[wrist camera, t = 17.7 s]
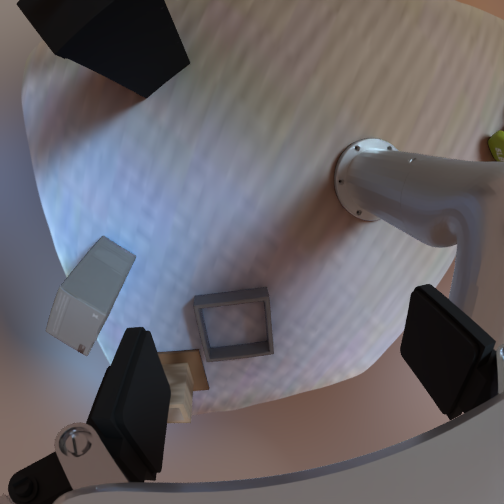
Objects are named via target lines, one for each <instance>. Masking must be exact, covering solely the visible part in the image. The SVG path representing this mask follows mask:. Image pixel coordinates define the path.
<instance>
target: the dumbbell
mask: <svg viewBox="0 0 504 504" xmlns="http://www.w3.org/2000/svg"><path fill="white" fill-rule="evenodd" d="M488 145H489V148H490V151H491V153H492V155H493V157H494V159H495V160H496V161H498V162H504V131H501V130H499V131H497V132H496V133H495V134H493V135H492V136H491V138H490V139H489V140H488Z"/></svg>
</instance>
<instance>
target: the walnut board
mask: <svg viewBox="0 0 504 504" xmlns="http://www.w3.org/2000/svg"><path fill="white" fill-rule="evenodd" d="M157 353H158V355H159V358H160V361H161V364H177V363H188V365H189V368H190V371H191V375H192V378H193V381H194V385H193V391H199V390H209V385H208V382H207V378H206V375H205V371H204V367H203V363H202V360H201V356H200V352H199V349H195V350H183V351H169V352H157Z"/></svg>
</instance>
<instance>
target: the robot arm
mask: <svg viewBox="0 0 504 504" xmlns="http://www.w3.org/2000/svg"><path fill="white" fill-rule="evenodd" d="M355 147H356V150H355ZM387 148H388V149H387ZM339 180H341V182H340V183H339ZM334 185H335V190H336V194H337V196H338V199H339V201H340V202H341V204H342V206H343V207H344V208H345V209H346V210H347V211H348V212H349V213H351V214H352V215H354V216H355V217H357V218H360V219H363V220H368V221H375V220H380V219H382V220H384V221H386V222H388V223H389V224H391V225H393V226H395V227H396V228H398V229H400V230H402V231H403V232H405V233H407V234H408V235H410V236H412V237H414V238H415V239H417V240H419V241H421V242H422V243H424V244H426V245H429V246H432V247H449V246H453V245H456V244H457V252H456V259H455V269H454V275H453V280H452V285H451V290H450V294H449V299H448V298H447V297H445V296H444V295H443V294H442V293H441V292H439V291H438V290H437V289H436V288H434V287H433V286H432V285H430V284H426V285H422V286H417V287H416V288H415V289H414V291H413V292H412V293H411V297H410V303H409V309H408V314H407V319H406V324H405V329H404V334H403V338H402V343H401V347H400V351H401V355H402V357H403V358H404V360H405V361H406V363H407V364H408V365H409V367H410V368H411V369H412V371H413V372H414V374H415V375H416V376H417V378H418V379H419V380H420V382H421V383H422V385H423V386H424V388H425V389H426V390H427V392H428V393H429V395H430V396H431V397H432V399H433V400H434V402H435V403H436V405H437V406H438V408H439V409H440V411H441V412H442V413H443V414H446V415H447V416H448V418H449V419H450V420H451V421H449V422H447V423H445V424H443V425H440V426H438V427H436V428H434V429H432V430H430V431H428V432H425V433H423V434H420V435H418V436H416V437H413V438H411V439H408V440H406V441H403V442H401V443H398V444H396V445H393V446H390V447H387V448H384V449H382V450H379V451H376V452H373V453H369V454H367V455H363V456H360V457H357V458H353V459H350V460H347V461H342V462H339V463H335V464H331V465H327V466H322V467H318V468H314V469H309V470H304V471H299V472H294V473H288V474H283V475H276V476H269V477H262V478H254V479H245V480H233V481H220V482H200V483H144V480H154V481H155V480H156V473H160V472H161V469H162V460H163V451H164V444H165V435H166V427H167V420H168V413H169V405H170V398H171V389H170V385H169V382H168V380H167V377H166V375H165V372H164V369H163V367H162V364H161V361H160V358H159V355H158V353H157V350H156V347H155V344H154V341H153V338H152V335H151V333H150V331H145V329H144V328H143V327H134V328H127V329H126V331H125V333H124V335H123V338H122V340H121V342H120V345H119V347H118V349H117V352H116V354H115V357H114V359H113V361H112V364H111V366H109V367H108V368H107V370H106V373H105V375H104V377H103V380H102V383H101V385H100V387H99V390H98V393H97V395H96V398H95V400H94V403H93V406H92V409H91V411H90V414H89V417H88V419H87V422H86V424H85V423H73V424H70V425H67V426H66V427H64V428H63V429H62V430H61V431H60V432H59V433H58V434H57V436H56V439H55V444H54V446H55V452H54V453H52V454H50V455H48V456H46V457H45V458H43V459H41V460H39V461H37V462H35V463H33V464H31V465H30V466H28V467H26V468H24V469H22V470H20V471H18V472H17V473H16V474H14V475H13V476H12V478H11V479H10V482H9V485H8V492H9V495H8V496H6V495H5V494H3V495H2V496H1V497H0V504H504V162H480V161H465V160H457V159H450V158H444V157H437V156H430V155H423V154H416V153H409V152H401V151H398V150H397V149H396V148H395V147H394V146H393V145H392V144H390V143H388V142H387V141H384V140H381V139H376V138H365V139H361V140H358V141H356V142H354V143H352V144H351V145H350V146H348V147H347V148H346V150H345V151H344V152H343V153H342V155H341V156H340V158H339V160H338V162H337V165H336V169H335V174H334ZM357 210H358V212H357ZM356 212H357V213H356ZM462 412H464V414H463V415H461V414H462ZM459 415H461V416H459ZM458 416H459V417H458ZM456 417H457V418H456ZM454 418H455V419H454ZM452 419H453V420H452Z"/></svg>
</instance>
